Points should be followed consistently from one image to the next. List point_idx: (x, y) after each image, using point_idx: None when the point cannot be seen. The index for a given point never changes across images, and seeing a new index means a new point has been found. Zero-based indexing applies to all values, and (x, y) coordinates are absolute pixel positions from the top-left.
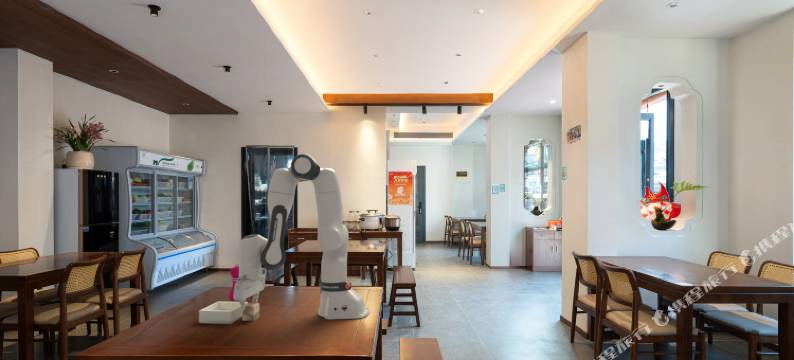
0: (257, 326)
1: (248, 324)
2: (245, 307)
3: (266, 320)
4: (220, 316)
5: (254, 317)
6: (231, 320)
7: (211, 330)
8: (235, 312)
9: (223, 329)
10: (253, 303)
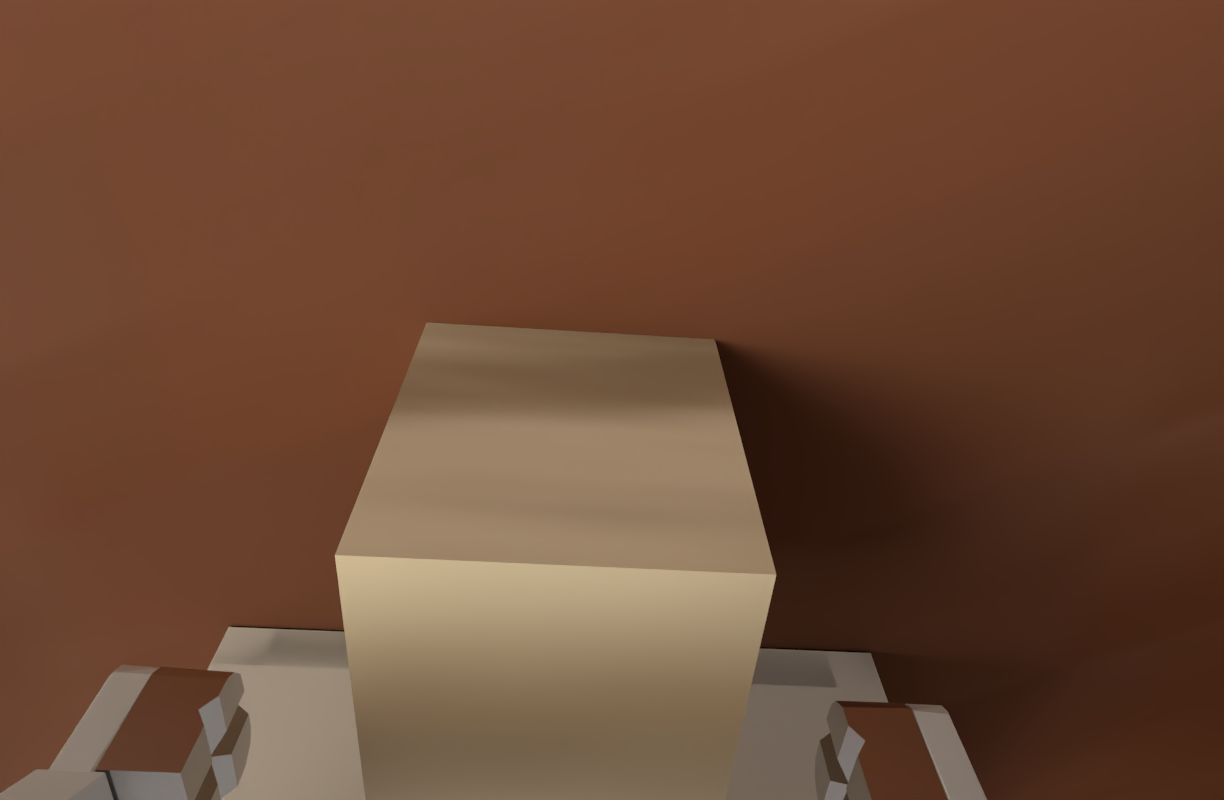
0: (1177, 83)
1: (957, 358)
2: (919, 737)
3: (683, 27)
4: None
5: (688, 373)
6: (872, 699)
7: (1149, 765)
8: (738, 795)
9: (1156, 647)
10: (400, 698)
